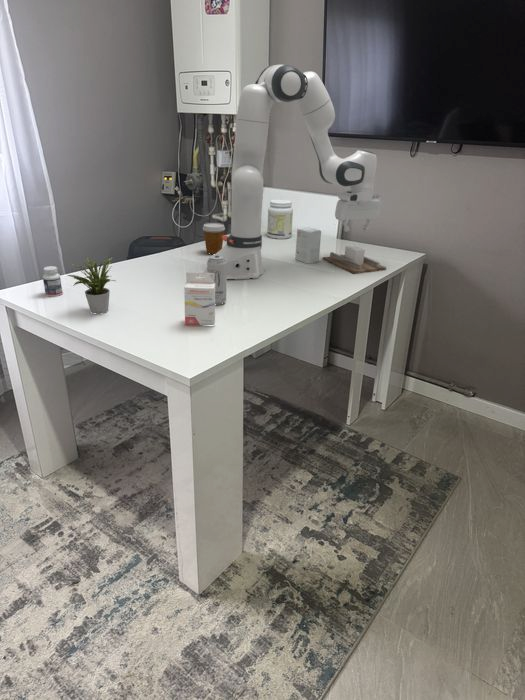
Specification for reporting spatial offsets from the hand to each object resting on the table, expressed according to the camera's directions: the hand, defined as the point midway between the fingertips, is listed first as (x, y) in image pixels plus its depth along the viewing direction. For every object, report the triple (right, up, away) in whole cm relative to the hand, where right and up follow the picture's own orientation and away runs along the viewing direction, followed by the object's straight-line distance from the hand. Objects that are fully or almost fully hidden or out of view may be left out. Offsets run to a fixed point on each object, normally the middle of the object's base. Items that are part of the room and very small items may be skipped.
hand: (356, 230), depth 201 cm
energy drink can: (-52, -33, -39) cm, 73 cm away
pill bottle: (-105, -30, -37) cm, 116 cm away
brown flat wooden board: (0, -12, +6) cm, 14 cm away
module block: (0, -12, +6) cm, 13 cm away
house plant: (-87, -35, -48) cm, 105 cm away
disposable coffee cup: (-58, -6, +15) cm, 60 cm away
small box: (-19, -10, +9) cm, 23 cm away
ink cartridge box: (-56, -40, -55) cm, 88 cm away
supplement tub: (-29, +8, +47) cm, 56 cm away
